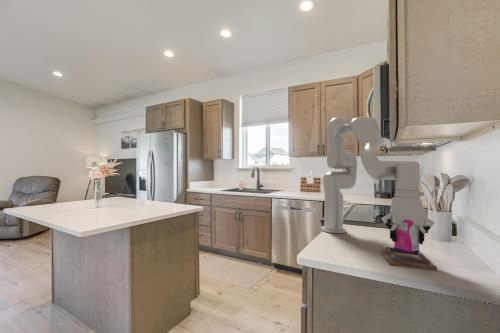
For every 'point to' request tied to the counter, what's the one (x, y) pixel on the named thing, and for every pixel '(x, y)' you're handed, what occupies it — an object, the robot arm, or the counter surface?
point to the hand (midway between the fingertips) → (406, 241)
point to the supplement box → (407, 237)
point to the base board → (407, 259)
